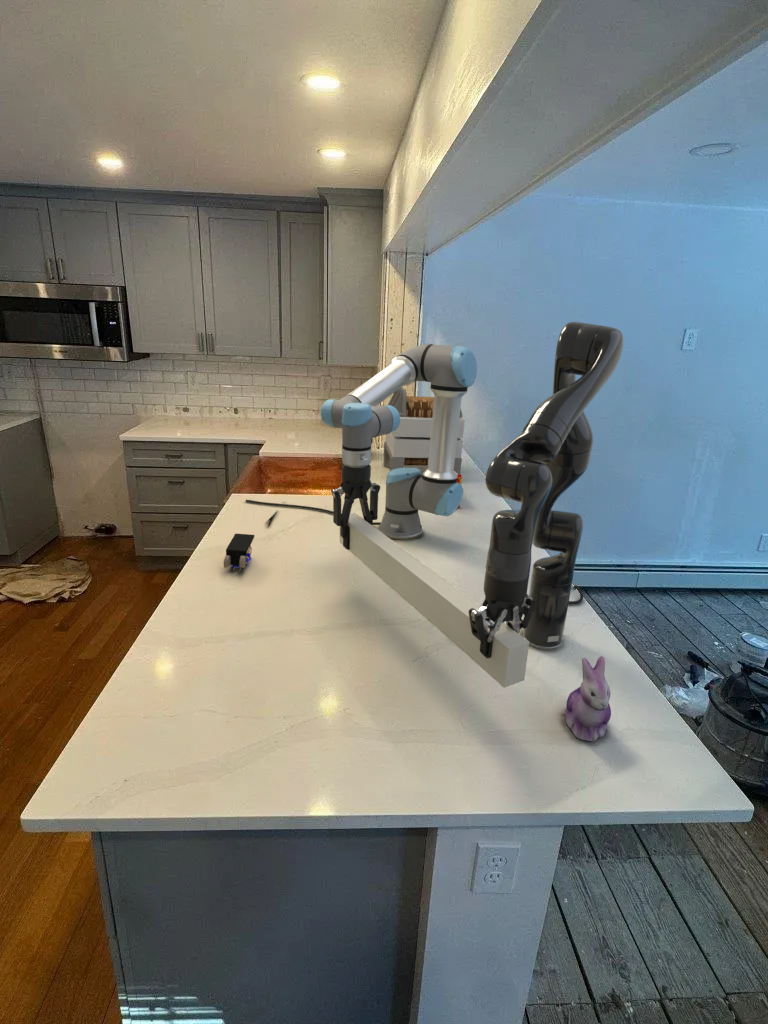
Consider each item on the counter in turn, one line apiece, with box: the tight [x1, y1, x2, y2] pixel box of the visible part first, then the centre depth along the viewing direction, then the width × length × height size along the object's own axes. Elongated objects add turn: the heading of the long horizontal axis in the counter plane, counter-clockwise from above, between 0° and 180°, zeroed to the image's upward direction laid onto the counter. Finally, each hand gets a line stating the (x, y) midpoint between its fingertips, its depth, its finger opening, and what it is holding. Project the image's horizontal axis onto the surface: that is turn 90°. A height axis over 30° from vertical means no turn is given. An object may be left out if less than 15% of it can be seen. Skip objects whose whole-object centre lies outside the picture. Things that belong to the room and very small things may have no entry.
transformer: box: [383, 386, 465, 475], centre depth 268 cm, size 34×33×41 cm
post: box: [339, 512, 530, 689], centre depth 129 cm, size 71×5×8 cm, turn 29°
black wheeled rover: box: [223, 533, 255, 573], centre depth 170 cm, size 7×8×15 cm
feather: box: [265, 511, 278, 527], centre depth 212 cm, size 2×28×2 cm
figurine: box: [564, 655, 612, 742], centre depth 107 cm, size 9×10×15 cm
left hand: (355, 545), depth 155 cm, fingers closed on post, 5 cm apart
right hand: (497, 651), depth 105 cm, fingers closed on post, 4 cm apart
